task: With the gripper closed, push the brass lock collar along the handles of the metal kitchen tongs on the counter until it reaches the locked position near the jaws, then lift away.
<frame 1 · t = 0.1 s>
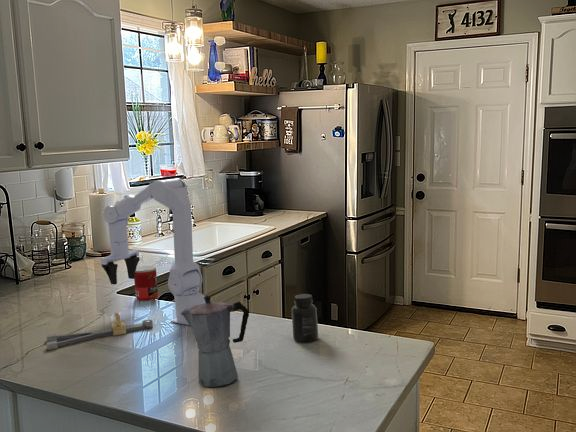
hand: (122, 281, 190), 10 cm above the worktop, fingers open, 7 cm apart
supplement bottle: (305, 339, 155), on the worktop
lock collar: (117, 323, 168), point 3 cm above the worktop, slide at 0.0 cm
tongs: (118, 332, 169), on the worktop
moka pot: (220, 380, 131), on the worktop
canned food: (147, 298, 205), on the worktop
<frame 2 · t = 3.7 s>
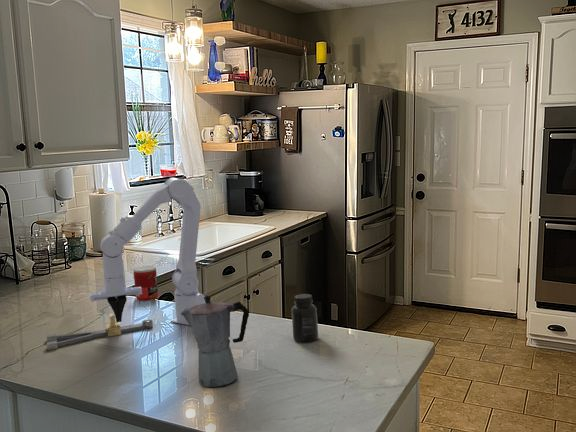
hand: (118, 321, 168), 3 cm above the worktop, fingers closed
lock collar: (112, 324, 168), point 3 cm above the worktop, slide at 1.5 cm, touching gripper
everything else where it was.
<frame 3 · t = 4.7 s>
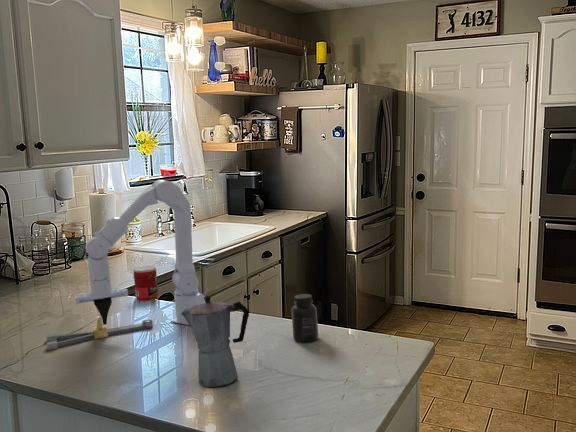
hand: (104, 323, 167), 3 cm above the worktop, fingers closed
lock collar: (99, 326, 166), point 3 cm above the worktop, slide at 5.2 cm, touching gripper
everything else where it was.
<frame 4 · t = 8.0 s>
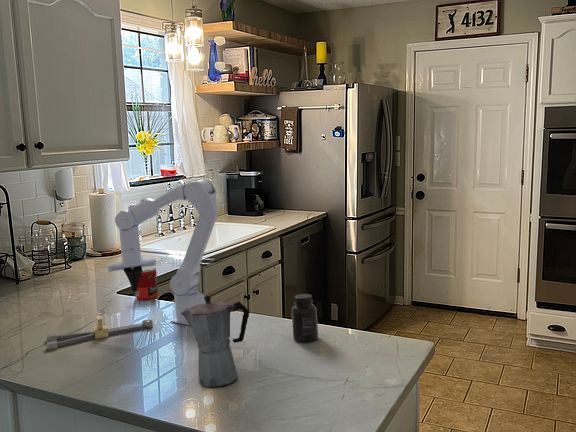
hand: (134, 290, 179), 9 cm above the worktop, fingers closed
lock collar: (100, 326, 166), point 3 cm above the worktop, slide at 5.1 cm
everything else where it was.
at the end: lock collar slide at 5.1 cm; the gripper is holding nothing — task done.
